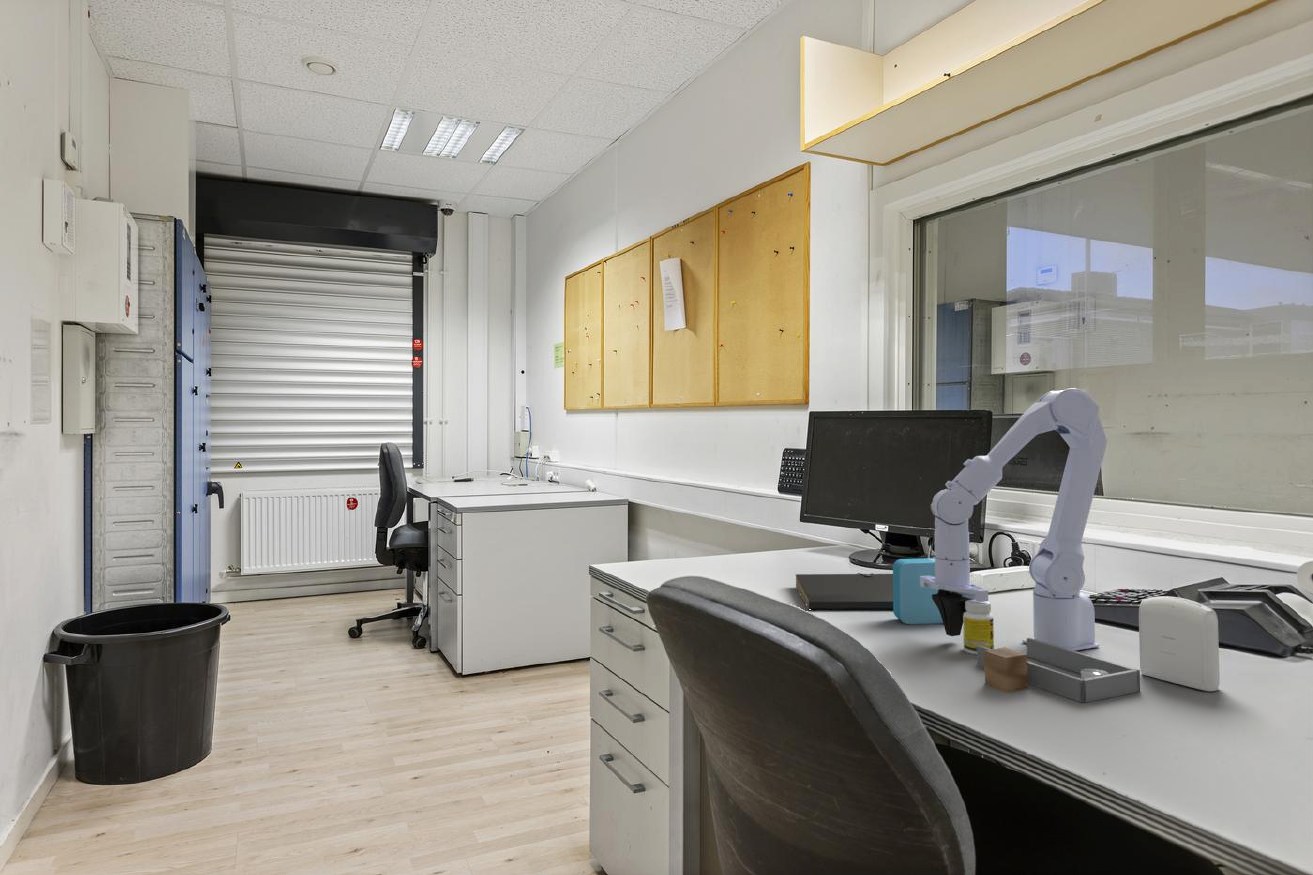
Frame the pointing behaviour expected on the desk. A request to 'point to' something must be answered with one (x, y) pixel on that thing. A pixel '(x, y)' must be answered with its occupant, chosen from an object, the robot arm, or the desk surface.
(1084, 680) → the bay
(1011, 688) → the walnut block
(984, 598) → the robot arm
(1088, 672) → the metal cylinder
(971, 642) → the supplement bottle
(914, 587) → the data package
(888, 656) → the desk surface
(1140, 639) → the photo printer
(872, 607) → the file folder
